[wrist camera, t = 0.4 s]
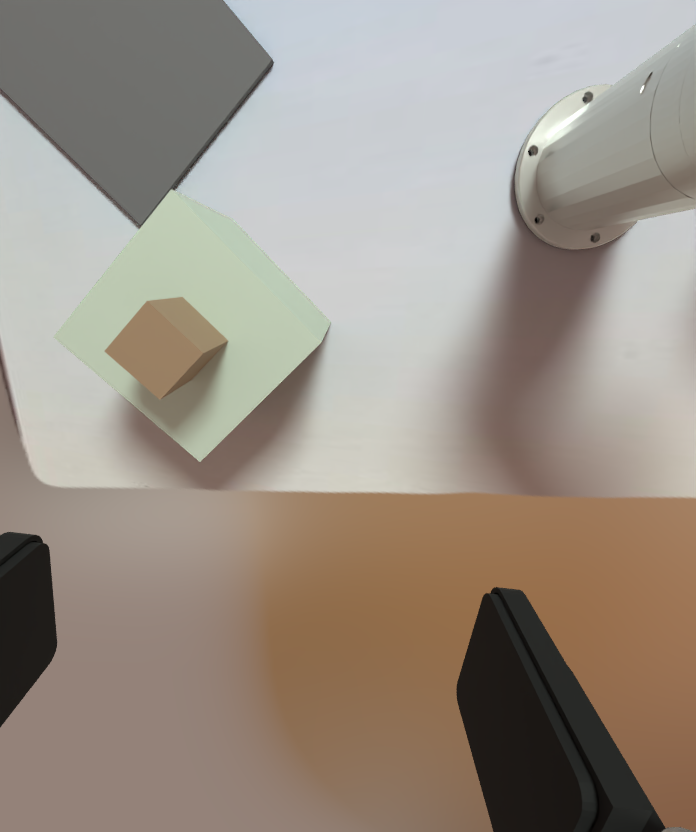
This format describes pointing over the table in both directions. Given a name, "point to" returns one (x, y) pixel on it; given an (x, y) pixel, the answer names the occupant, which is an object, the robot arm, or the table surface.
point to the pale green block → (193, 324)
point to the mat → (129, 84)
